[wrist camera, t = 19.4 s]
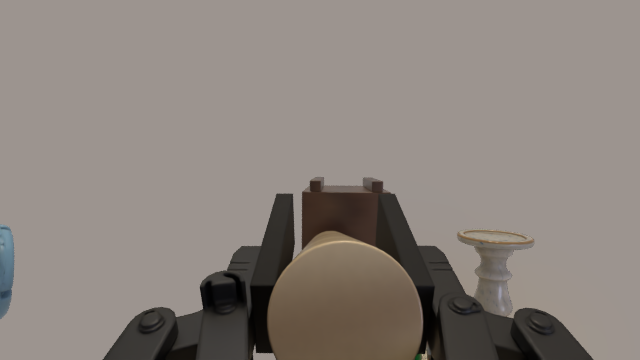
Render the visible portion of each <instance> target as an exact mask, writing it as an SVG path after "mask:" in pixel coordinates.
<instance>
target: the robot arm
mask: <svg viewBox="0 0 640 360" xmlns="http://www.w3.org/2000/svg"><path fill="white" fill-rule="evenodd" d="M293 213H294V212H293V194H276V198H275V202H274V205H273V208H272V212H271V215H270V218H269V222H268V225H267V228H266V232H265V235H264V238H263V242H262V246H242V247H241V248H240V249H238V250H237V251H236V252H235V253H234V254H233V256H232V259H231V261H230V264H229V267H228V269H227V271H220V272H216V273H214V274H211V275H209V276H208V277H207V278H206V279H204V280H203V281H202V283H201V285H200V291H201V297H202V304H203V309H202V310H200V311H198V312H195V313H192V314H188V315H184V316H180V317H176V316H175V313H174V312H173V311H172V310H171V309H169V308H163V307H158V308H152V309H149V310H146V311H144V312H142V313H140V314H139V315H137V316H135V318H134V319H133V320H132V321H131V322H130V323H129V324H128V325H127V327H126V328H125V330H124V331H123V332H122V334H121V335H120V336H119V338H118V339H117V341H116V342H115V343H114V345H113V346H112V348H111V349H110V350H109V352H108V353H107V355H106V356H105V357H104V359H103V360H253V350H254V346H256V353H273V351H272V348H271V345H270V341H269V336H268V330H267V313H268V306H269V301H270V297H271V294H272V291H273V288H274V286H275V284H276V282H277V280H278V279H279V277H280V276H281V274H282V273H283V271H284V270H285V269H286V267H287V266H288V265H289V264H290V263H291V262H292V258H293V252H294V245H295V240H294V214H293ZM375 245H376V248H378V249H380V250H382V251H384V252H385V253H387V254H388V255H390V256H391V257H392V258H393V259H395V260H396V261H397V262H398V263H399V264H400V265H401V266H402V267H403V269H404V270H405V271H406V272H407V274H408V275H409V277H410V278H411V280H412V281H413V283H414V285H415V287H416V289H417V292H418V295H419V298H420V301H421V306H422V312H423V334H422V340H421V344H420V348H419V351H418V353H417V354H425V351H426V345H427V343H428V346H429V349H430V352H431V357H430V360H593V359H592V357H591V356H590V355H589V354H588V353H587V352H586V351H585V349H584V348H583V347H582V346H581V345H580V344H579V342H578V341H577V340H576V339H575V338H574V337H573V335H572V334H571V333H570V332H569V331H568V330H567V329H566V327H565V326H564V325H563V324H562V323H561V322H559V320H557V319H556V318H555V317H554V316H552V315H550V314H548V313H546V312H543V311H541V310H537V309H532V308H523V309H519V310H518V311H517V312H515V315H514V318H508V317H504V316H500V315H496V314H492V313H489V312H487V311H485V310H484V308H483V306H482V305H481V303H479V302H478V301H477V300H476V299H475V298H473V297H471V296H469V295H467V294H466V293H465V291H464V289H463V287H462V285H461V284H460V282H459V280H458V278H457V276H456V274H455V273H454V271H453V270H452V267H451V265H450V264H449V262H448V260H447V258H446V256H445V254H444V253H443V252H442V251H440V250H439V249H438V248H437V247H435V246H417V244H416V241H415V239H414V237H413V234H412V232H411V230H410V228H409V225H408V223H407V221H406V218H405V216H404V214H403V212H402V210H401V207H400V205H399V203H398V200H397V198H396V196H395V194H379V195H378V210H377V225H376V241H375ZM13 277H14V243H13V235H12V233H11V230H10V228H9V227H8V226H5V225H0V319H1V318H2V317H3V316H4V315H5V314H6V313H7V311H8V309H9V306H10V302H11V295H12V294H11V293H12V290H11V288H12V285H13Z"/></svg>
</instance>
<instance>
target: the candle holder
mask: <svg viewBox="0 0 640 360" xmlns="http://www.w3.org/2000/svg"><path fill="white" fill-rule="evenodd" d="M457 238H458V240H459V241H461V242H463V243H465V244H468V245H472V246H474V247H475V250H476V252H477V253H479V255H480V257H481V264H480V266H479V267H477V268H476V269H475V273H476V275H477V276H479V281H478V286H477V289H476V292H475V295H474V297H473V298H475V299H476V300H477V301H478V302H479V303H481V305H482V306H483V308H484V310H485V311H487V312H489V313H492V314H496V315H500V316H504V317H507V316H509V315H510V313H511V312H512V309H513V307H512V303H511V300H510V297H509V293H508V288H507V280H509V279H511V277H512V274H511V273H510V272H509V271H508V270H507V268H506V261H507V259H508V257H509V256H511V255H512V254H513V252H514V250H522V249H528V248H531V247H532V246H533V245H534V239H533V238H532V237H530V236H527V235H524V234H519V233H515V232H509V231H501V230H488V229H487V230H486V229H469V230H462V231H459V232H458V233H457Z"/></svg>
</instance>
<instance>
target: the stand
mask: <svg viewBox="0 0 640 360" xmlns="http://www.w3.org/2000/svg"><path fill="white" fill-rule="evenodd" d="M379 194H391V193H390V192H388V191H386V190H384V189H383V182H382V181H380V180H377V179H373V178H363V186H324V177H315V178H314V179H312V180H311V181H310V186H309V187H308V188H306V189H305V190H304V191H303V192H302V250H303V249H304V248H305V247H306V246H307V244H308V243H309V242H310V241H311V240H312V239H313V238H314V237H315V236H316V235H318V234H320V233H322V232H325V231H336V232H339V233H342V234H344V235H347V236H349V237H352V238H354V239H357V240H359V241H362V242H364V243H367V244H369V245H372V246H374V247H376V245H375V241H376V225H377V210H378V195H379Z"/></svg>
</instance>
